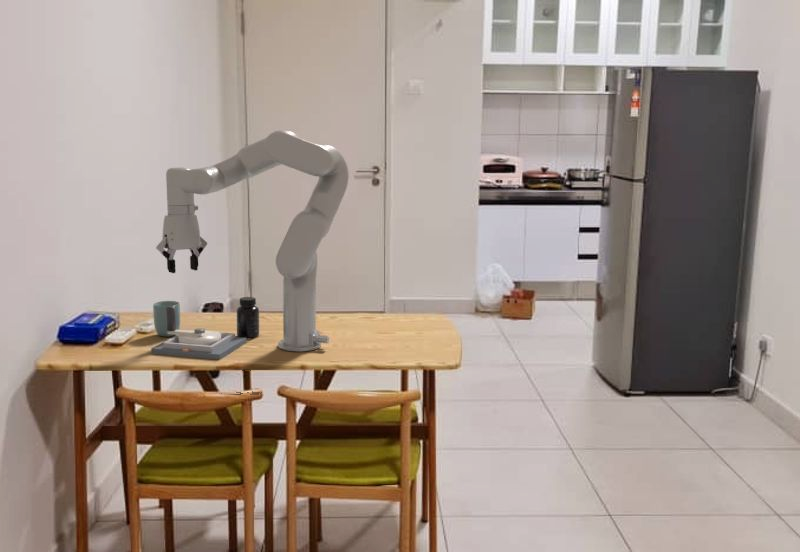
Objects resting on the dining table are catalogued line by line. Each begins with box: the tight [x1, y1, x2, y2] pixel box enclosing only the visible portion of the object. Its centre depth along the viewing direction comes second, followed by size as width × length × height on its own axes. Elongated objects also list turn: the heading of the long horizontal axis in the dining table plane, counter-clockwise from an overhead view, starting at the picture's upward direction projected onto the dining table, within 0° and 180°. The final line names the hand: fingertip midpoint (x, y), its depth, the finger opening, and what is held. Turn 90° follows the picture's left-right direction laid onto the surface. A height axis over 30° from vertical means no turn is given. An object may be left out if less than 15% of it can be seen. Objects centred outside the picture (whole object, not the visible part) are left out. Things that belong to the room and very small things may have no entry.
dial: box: [166, 306, 221, 346], centre depth 227 cm, size 16×12×10 cm
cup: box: [152, 300, 181, 337], centre depth 239 cm, size 8×8×10 cm
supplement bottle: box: [236, 296, 260, 340], centre depth 240 cm, size 7×7×12 cm
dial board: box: [150, 329, 247, 360], centre depth 227 cm, size 21×18×3 cm
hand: (183, 270), depth 230 cm, fingers open, 6 cm apart
